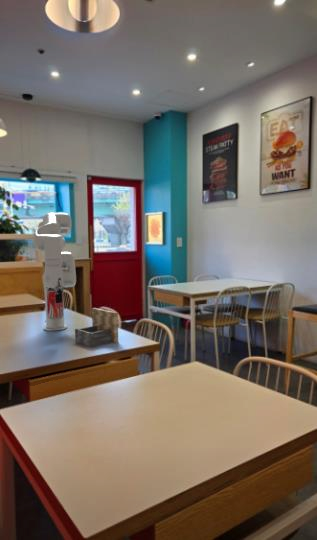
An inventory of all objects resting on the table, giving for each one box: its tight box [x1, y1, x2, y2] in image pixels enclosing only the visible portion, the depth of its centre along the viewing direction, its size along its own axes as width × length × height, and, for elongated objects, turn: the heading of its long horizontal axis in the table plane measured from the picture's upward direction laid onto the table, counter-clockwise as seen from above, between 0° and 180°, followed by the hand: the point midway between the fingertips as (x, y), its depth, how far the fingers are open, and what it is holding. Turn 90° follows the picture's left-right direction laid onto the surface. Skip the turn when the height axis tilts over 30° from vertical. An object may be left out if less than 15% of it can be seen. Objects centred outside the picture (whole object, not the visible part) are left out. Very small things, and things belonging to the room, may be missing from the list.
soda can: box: [47, 289, 65, 319], centre depth 173 cm, size 7×7×13 cm
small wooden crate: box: [74, 307, 119, 348], centre depth 176 cm, size 18×13×14 cm
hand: (55, 301), depth 173 cm, fingers closed on soda can, 6 cm apart
